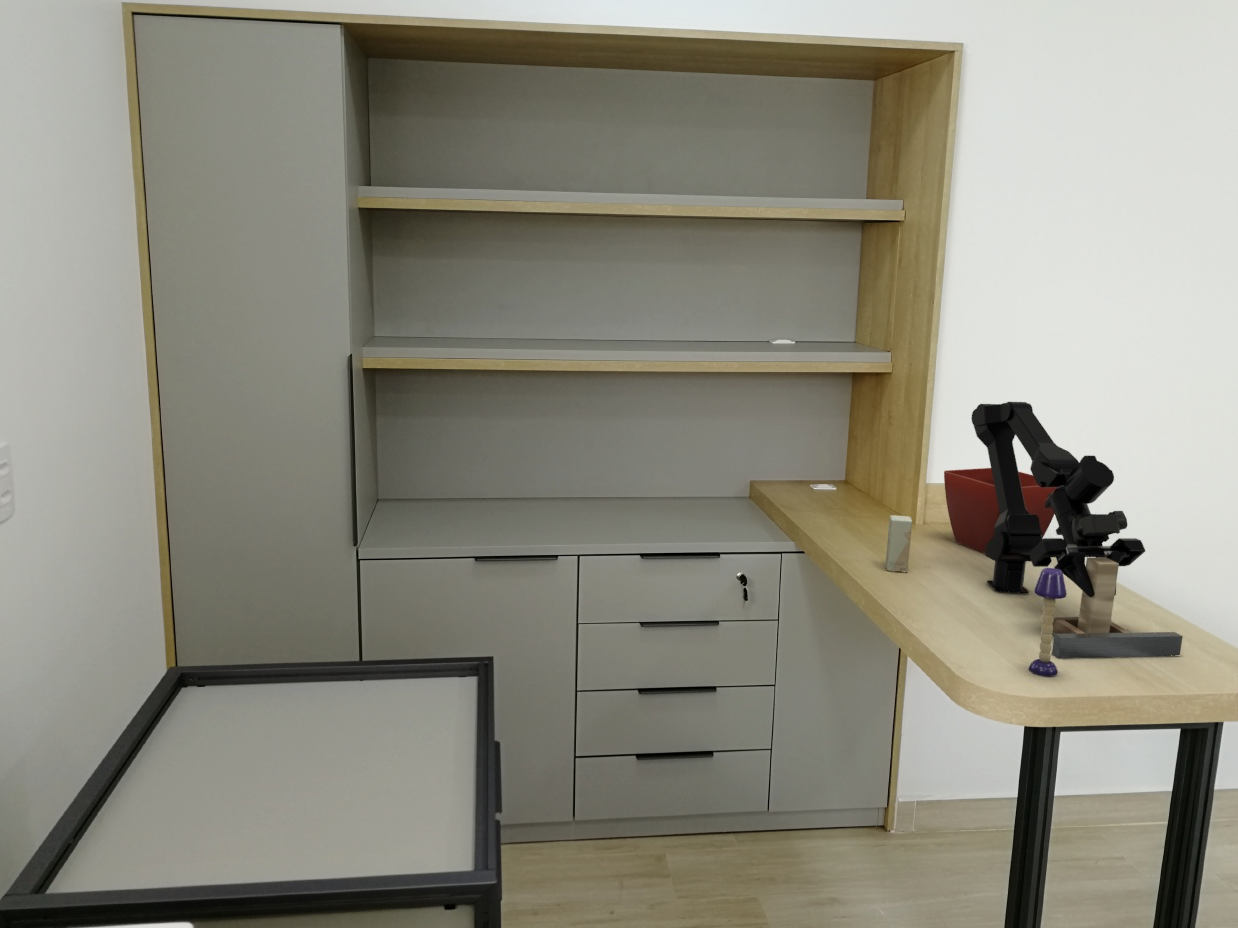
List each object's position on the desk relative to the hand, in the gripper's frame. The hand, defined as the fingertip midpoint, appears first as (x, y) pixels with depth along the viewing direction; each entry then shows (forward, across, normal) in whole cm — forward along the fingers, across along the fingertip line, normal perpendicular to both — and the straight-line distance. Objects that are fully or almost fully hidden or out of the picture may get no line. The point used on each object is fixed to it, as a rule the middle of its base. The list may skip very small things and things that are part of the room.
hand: (1102, 596), depth 175 cm
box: (-25, -18, +37) cm, 48 cm away
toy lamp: (+14, -17, -2) cm, 22 cm away
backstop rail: (+10, 0, +2) cm, 10 cm away
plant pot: (-36, +14, +49) cm, 62 cm away
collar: (+5, 0, +7) cm, 9 cm away
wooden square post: (+4, 0, +6) cm, 7 cm away
